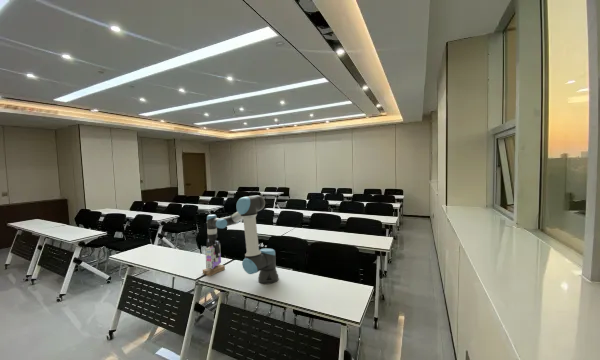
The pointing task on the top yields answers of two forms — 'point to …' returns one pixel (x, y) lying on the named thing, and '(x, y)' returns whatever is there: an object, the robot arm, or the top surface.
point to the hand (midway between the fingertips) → (213, 260)
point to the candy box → (212, 257)
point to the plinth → (214, 270)
